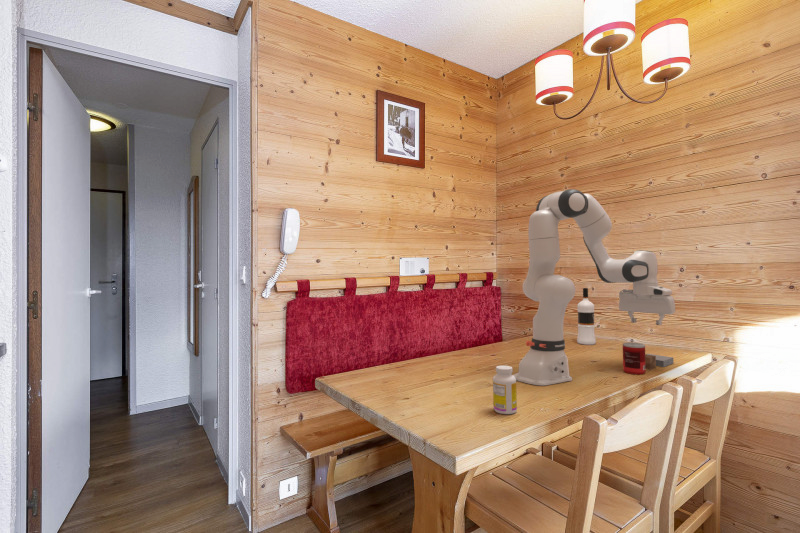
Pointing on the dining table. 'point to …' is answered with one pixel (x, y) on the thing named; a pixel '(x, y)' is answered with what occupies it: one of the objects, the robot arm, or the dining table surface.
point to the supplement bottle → (504, 391)
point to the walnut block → (650, 362)
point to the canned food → (634, 358)
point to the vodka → (586, 321)
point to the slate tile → (663, 360)
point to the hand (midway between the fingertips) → (646, 323)
